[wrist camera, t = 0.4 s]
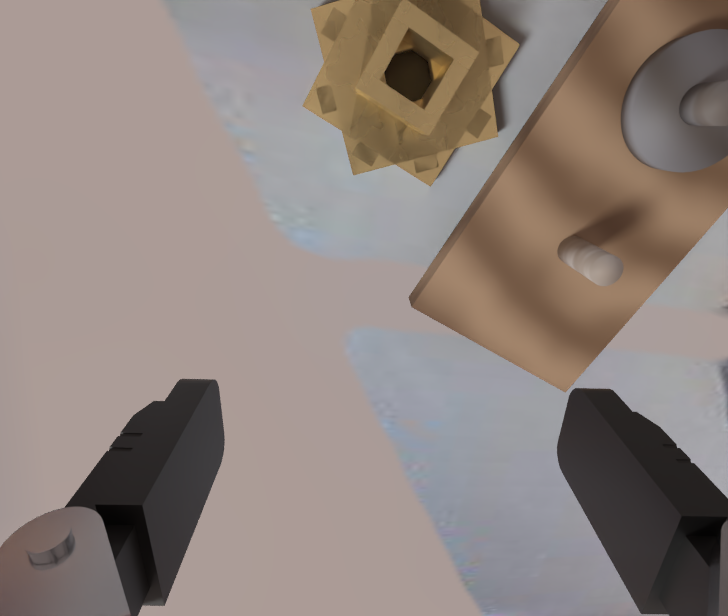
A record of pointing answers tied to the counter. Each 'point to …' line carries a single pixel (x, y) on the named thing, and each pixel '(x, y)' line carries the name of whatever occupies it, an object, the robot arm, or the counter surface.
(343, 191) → the counter surface
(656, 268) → the wooden peg board
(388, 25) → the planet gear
